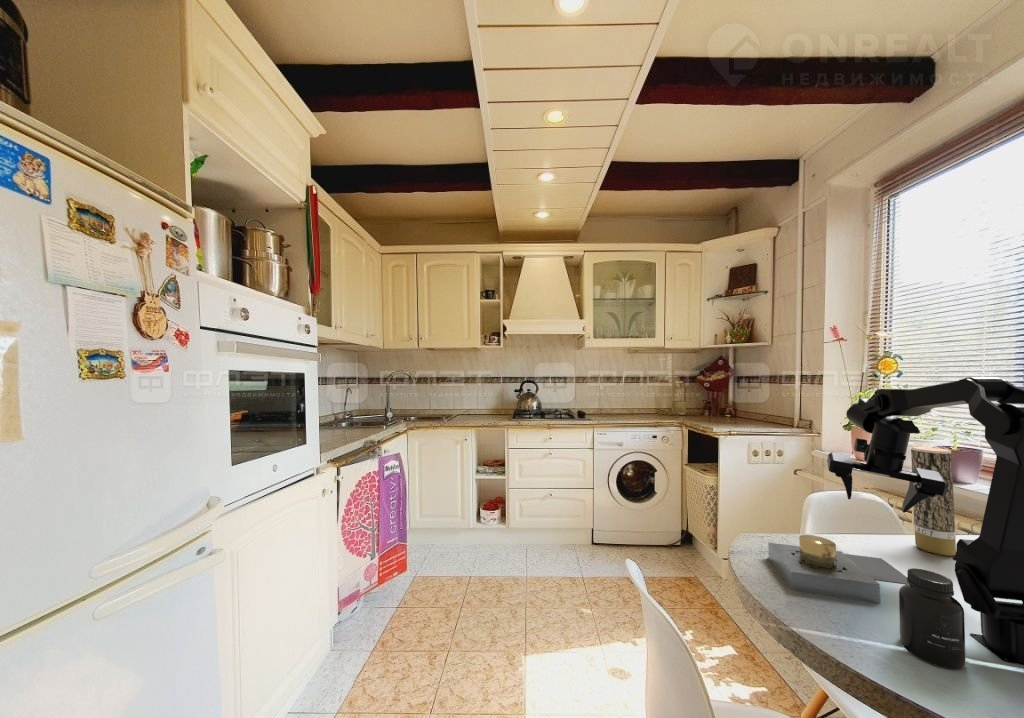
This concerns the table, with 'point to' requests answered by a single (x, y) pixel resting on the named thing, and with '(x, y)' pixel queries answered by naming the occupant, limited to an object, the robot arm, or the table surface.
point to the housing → (824, 575)
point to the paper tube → (935, 504)
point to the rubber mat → (878, 569)
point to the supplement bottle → (932, 620)
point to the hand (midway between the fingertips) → (875, 504)
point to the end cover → (817, 551)
